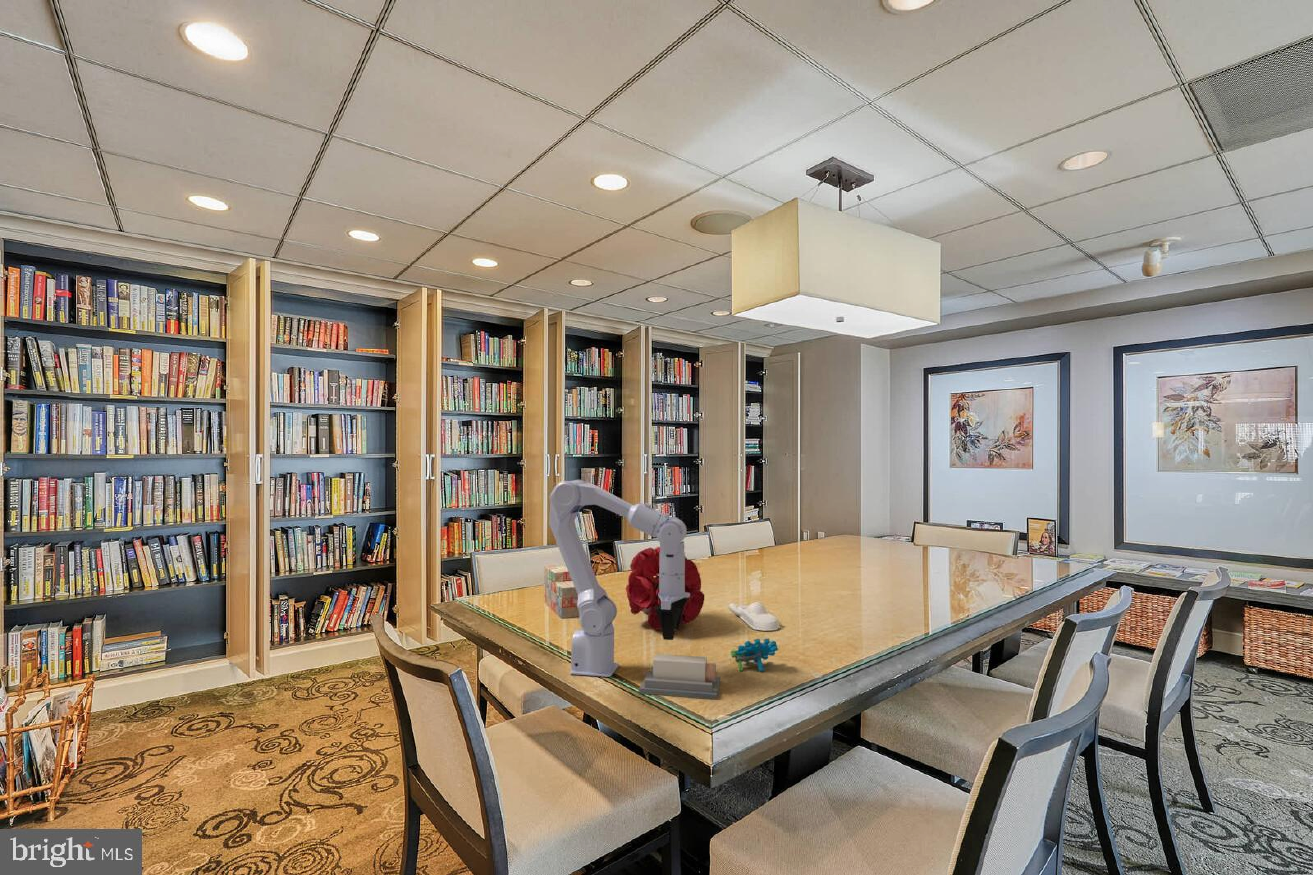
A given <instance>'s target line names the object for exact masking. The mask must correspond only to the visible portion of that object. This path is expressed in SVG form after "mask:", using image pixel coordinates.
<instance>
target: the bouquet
mask: <svg viewBox="0 0 1313 875" xmlns="http://www.w3.org/2000/svg"><path fill="white" fill-rule="evenodd" d="M659 553H660V546H657V547H654V548H652V547H648V548H644V549H643V550H640V551H639V552H637V554H635V556H634V557H633V558H632V559H631V562H630V567H629V568H630V570H631V572H630V574H629V575H628V581H627V584H626V587H625V592H626V597H627V599H628V604H629V608H630V613H631V614H632V615H633V616H634V615H637V614H639V613H640V612H643V613H644V614H648V615H647V623H648V625H649V627H650V628H652V629H653V630H658V629H659V630H661V625H660V622H659V619H658V616H657V614H656V613H655V606H656V605H657V606H661V600H660V598H659V597H658V592H659ZM701 588H702V579H701V574H700V572H699V569H698V567H697V565H696V564H695V562H694V561H693V560H691V559H688V558H687V556H686V555H685V592H686V593H690V596H689V597H688V600H687V602H686V604H685V606H684V609H683V613H682V618H681V624H680V626H681V625H682V624H685V625H686V624H690V623H691V622H693V621H694V620H696V618H698V617H699V615H700V613H701V611H702V608H703V607H704V604H705V594H704V592H703V591H701V590H702V589H701Z"/></svg>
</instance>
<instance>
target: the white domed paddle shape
mask: <svg viewBox="0 0 1313 875" xmlns="http://www.w3.org/2000/svg"><path fill="white" fill-rule="evenodd" d="M728 609H729V611H731V612H732V613H734V614H735V615H736V616H738V617H739V618H740V619H741V620H742V621H743V622H744V623H745V624H746V625H748V626H749V627H750V628H752V630H755V631H762V632H766V631H767V632H772V631H777V630H779V629H780V628H781V626H780V622H779V618H778V617H777V616H775V615H773V614H772V613H770V612H768V611H767V610H766V607H765V605H763V604H762V603H760V600H758V601H754V602H753V603H750V604H749V605H743V603H742V601H739V606H738V605H737V604H735V603H732V602H731V603H730V604H728Z"/></svg>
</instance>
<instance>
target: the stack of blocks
mask: <svg viewBox="0 0 1313 875" xmlns="http://www.w3.org/2000/svg"><path fill="white" fill-rule="evenodd" d="M543 569H544V570H543V572H544V579H543V580H544V583H543V584H544V604H545V605H546V606H547V607H548V608H549V609H550V610H551V611H553V612H554V614H556V615H557V616H558V617H559V618H560V619H567V618H576V617H577V618H578V617H580V614H579V610H578V607H577V602H578V594H577V591H576V589H575V586H574V584H573V581H572V579H571V577H570V574H569V572H568V569H567V567H566V566H565V565H563V564H561V565H550V566H544V568H543Z"/></svg>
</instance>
